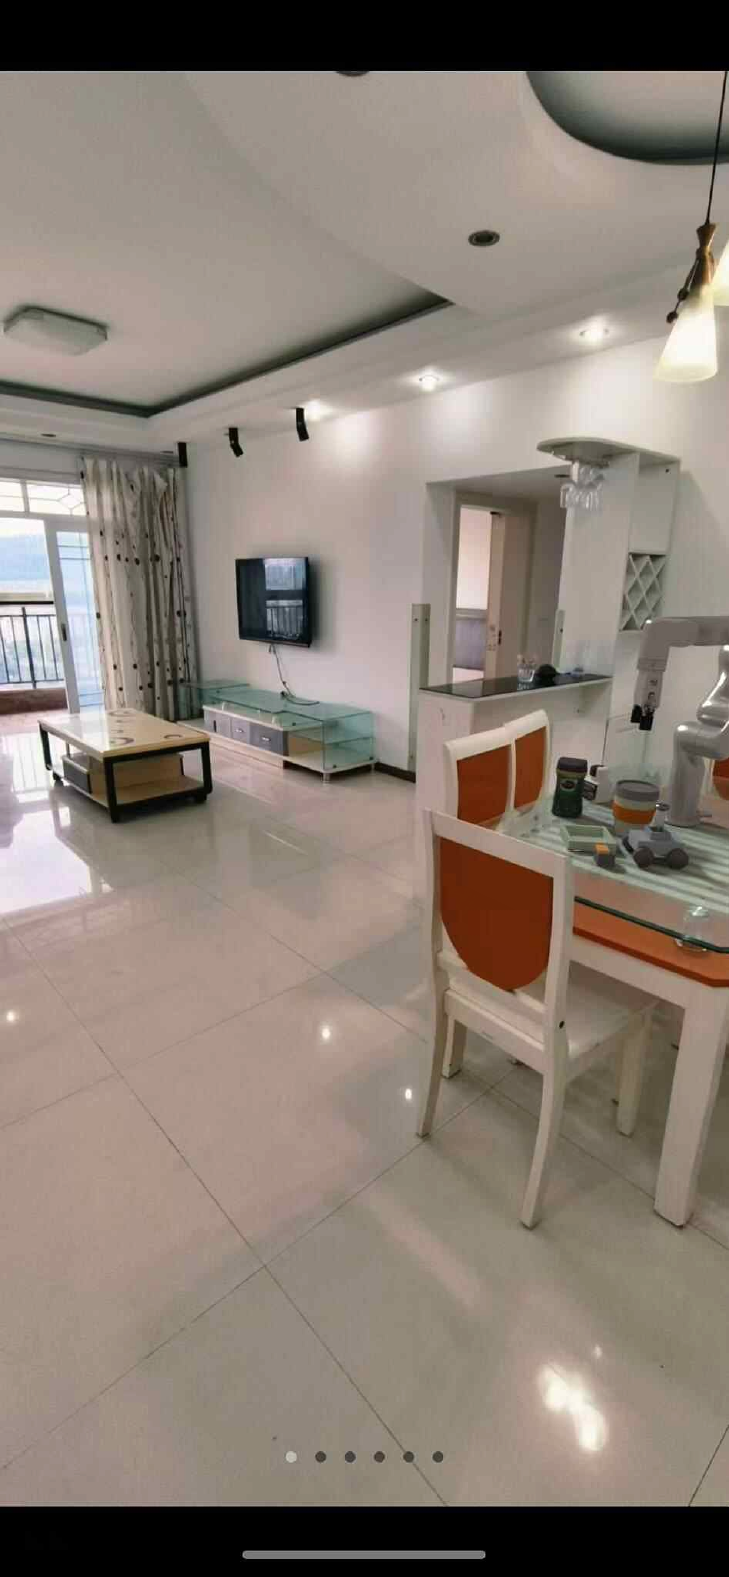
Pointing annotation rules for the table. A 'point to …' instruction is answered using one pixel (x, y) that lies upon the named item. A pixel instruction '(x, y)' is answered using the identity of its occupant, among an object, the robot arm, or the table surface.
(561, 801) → the coffee jar
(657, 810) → the pin
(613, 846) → the tray
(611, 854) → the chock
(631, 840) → the toy car
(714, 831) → the table surface
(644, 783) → the reusable coffee cup
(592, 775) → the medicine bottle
